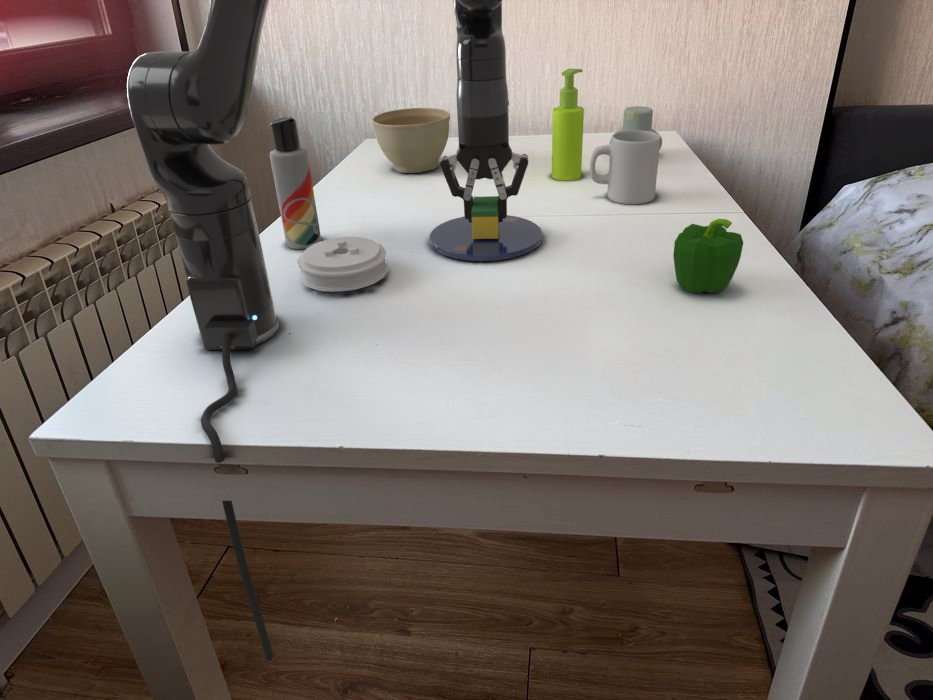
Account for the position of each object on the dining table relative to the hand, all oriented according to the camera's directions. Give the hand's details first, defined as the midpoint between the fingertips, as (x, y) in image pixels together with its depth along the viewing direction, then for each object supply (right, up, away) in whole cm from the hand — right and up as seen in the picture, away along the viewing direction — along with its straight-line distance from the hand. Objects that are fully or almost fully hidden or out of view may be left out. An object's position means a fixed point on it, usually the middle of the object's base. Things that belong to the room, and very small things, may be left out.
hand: (486, 220), depth 111 cm
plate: (0, -3, +1) cm, 3 cm away
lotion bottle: (-30, -3, +4) cm, 30 cm away
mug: (+25, +7, +17) cm, 31 cm away
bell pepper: (+29, -12, -16) cm, 35 cm away
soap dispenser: (+17, +14, +30) cm, 37 cm away
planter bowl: (-14, +18, +39) cm, 45 cm away
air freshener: (+33, +21, +39) cm, 55 cm away
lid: (-21, -10, -9) cm, 25 cm away
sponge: (0, -2, +1) cm, 2 cm away
